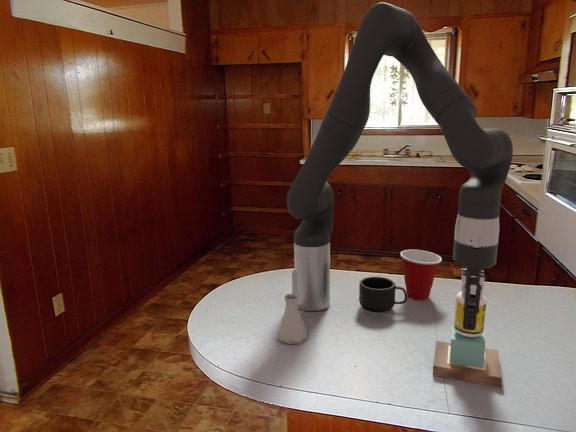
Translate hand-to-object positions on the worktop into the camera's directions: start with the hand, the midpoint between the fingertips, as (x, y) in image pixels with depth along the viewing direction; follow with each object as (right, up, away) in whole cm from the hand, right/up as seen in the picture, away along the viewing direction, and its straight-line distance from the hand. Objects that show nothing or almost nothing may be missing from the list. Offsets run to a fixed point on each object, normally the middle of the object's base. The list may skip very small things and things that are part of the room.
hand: (468, 321), depth 87 cm
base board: (0, -10, +2) cm, 10 cm away
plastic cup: (+1, -2, +35) cm, 36 cm away
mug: (-11, -4, +28) cm, 31 cm away
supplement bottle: (0, -2, 0) cm, 2 cm away
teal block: (0, -8, +2) cm, 8 cm away
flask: (-34, -7, +15) cm, 38 cm away
